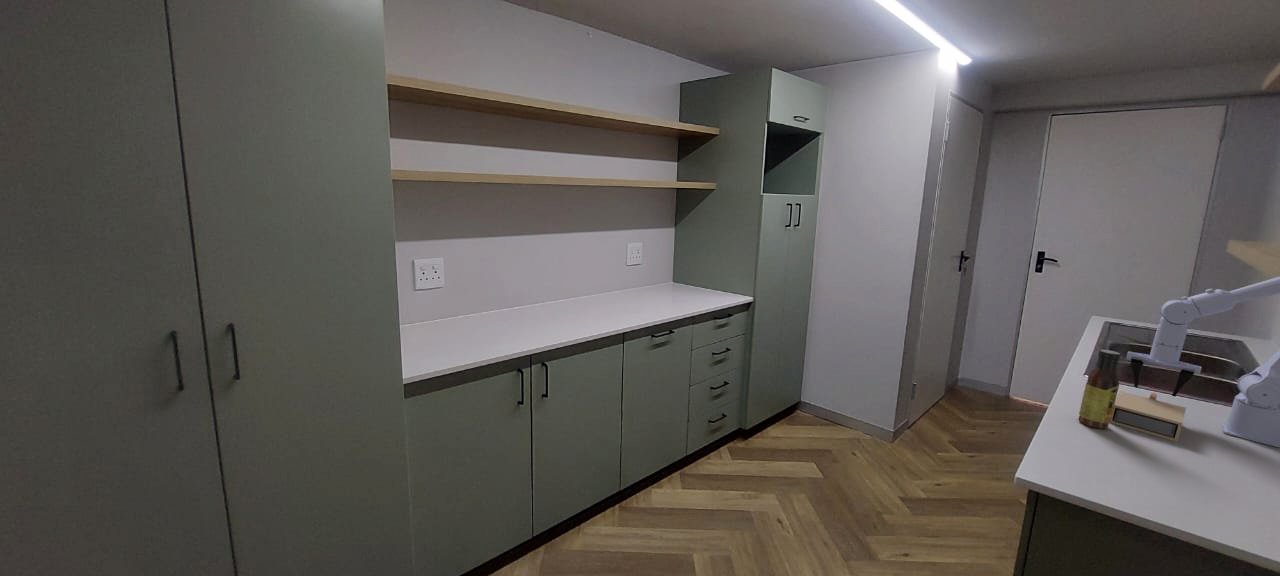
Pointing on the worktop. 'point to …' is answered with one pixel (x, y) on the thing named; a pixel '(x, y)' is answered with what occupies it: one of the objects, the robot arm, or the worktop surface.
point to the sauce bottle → (1100, 391)
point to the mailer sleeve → (1149, 412)
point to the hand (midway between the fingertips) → (1154, 390)
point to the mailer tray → (1145, 421)
